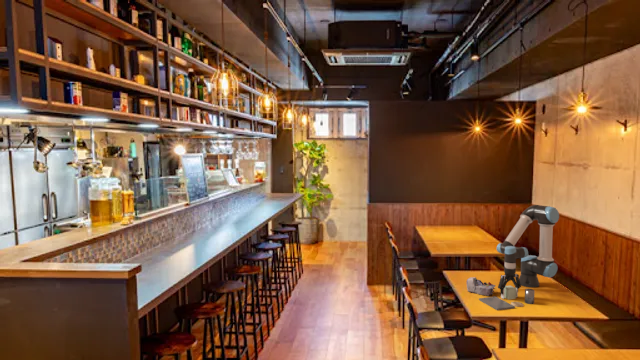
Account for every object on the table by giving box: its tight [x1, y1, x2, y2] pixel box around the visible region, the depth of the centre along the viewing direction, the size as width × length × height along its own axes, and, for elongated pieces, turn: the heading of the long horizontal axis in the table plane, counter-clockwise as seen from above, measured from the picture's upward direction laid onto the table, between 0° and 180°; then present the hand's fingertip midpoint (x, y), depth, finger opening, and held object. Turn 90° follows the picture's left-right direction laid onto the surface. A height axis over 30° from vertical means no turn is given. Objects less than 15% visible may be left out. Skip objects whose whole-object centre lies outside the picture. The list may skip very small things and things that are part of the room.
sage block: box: [504, 285, 517, 300], centre depth 302 cm, size 6×6×8 cm
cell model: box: [466, 276, 496, 297], centre depth 314 cm, size 13×11×20 cm
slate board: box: [478, 296, 516, 311], centre depth 291 cm, size 14×20×1 cm
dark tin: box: [524, 288, 535, 305], centre depth 293 cm, size 6×6×9 cm
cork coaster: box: [510, 301, 525, 308], centre depth 289 cm, size 8×8×1 cm
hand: (509, 297), depth 303 cm, fingers open, 10 cm apart
